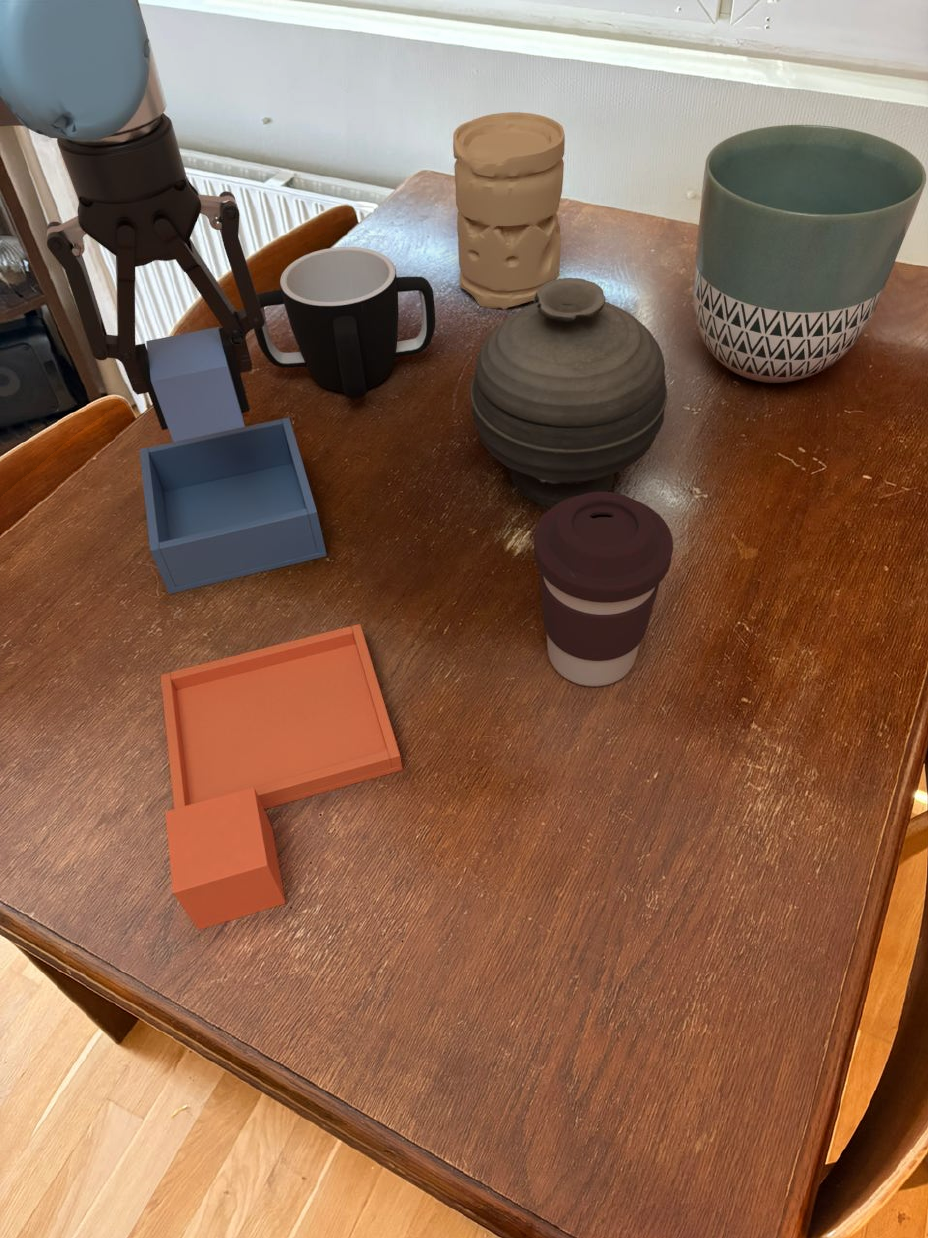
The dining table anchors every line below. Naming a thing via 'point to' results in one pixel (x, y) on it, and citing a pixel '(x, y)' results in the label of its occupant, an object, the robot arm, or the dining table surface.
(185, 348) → the blue block
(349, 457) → the dining table surface
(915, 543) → the dining table surface
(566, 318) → the pot
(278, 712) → the clay tray
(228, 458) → the blue bin
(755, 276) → the planter
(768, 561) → the dining table surface
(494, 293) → the container
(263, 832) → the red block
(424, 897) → the dining table surface
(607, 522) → the coffee cup
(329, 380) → the mug
